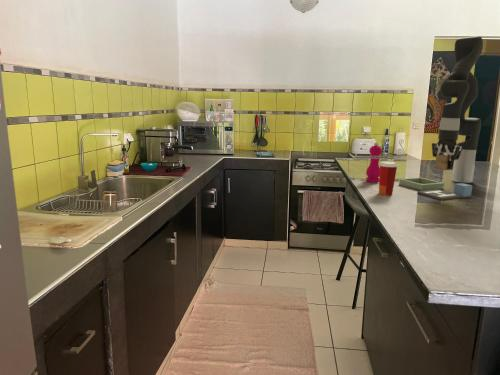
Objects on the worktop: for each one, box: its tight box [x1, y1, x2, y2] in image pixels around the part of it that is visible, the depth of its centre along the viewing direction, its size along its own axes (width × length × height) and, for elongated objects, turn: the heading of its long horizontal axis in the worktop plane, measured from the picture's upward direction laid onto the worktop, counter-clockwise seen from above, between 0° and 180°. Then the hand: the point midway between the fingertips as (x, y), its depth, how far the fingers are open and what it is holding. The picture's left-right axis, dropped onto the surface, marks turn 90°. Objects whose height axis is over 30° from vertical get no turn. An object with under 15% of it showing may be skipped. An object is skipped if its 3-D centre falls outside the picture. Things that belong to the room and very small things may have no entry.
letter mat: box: [416, 189, 464, 201], centre depth 172 cm, size 13×13×1 cm
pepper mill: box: [365, 142, 383, 183], centre depth 197 cm, size 7×7×20 cm
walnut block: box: [434, 153, 454, 171], centre depth 169 cm, size 5×5×6 cm
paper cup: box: [378, 161, 398, 196], centre depth 171 cm, size 8×8×14 cm
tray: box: [398, 177, 445, 191], centre depth 189 cm, size 14×14×3 cm
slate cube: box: [452, 182, 473, 198], centre depth 174 cm, size 5×5×5 cm
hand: (443, 167), depth 169 cm, fingers closed on walnut block, 5 cm apart
